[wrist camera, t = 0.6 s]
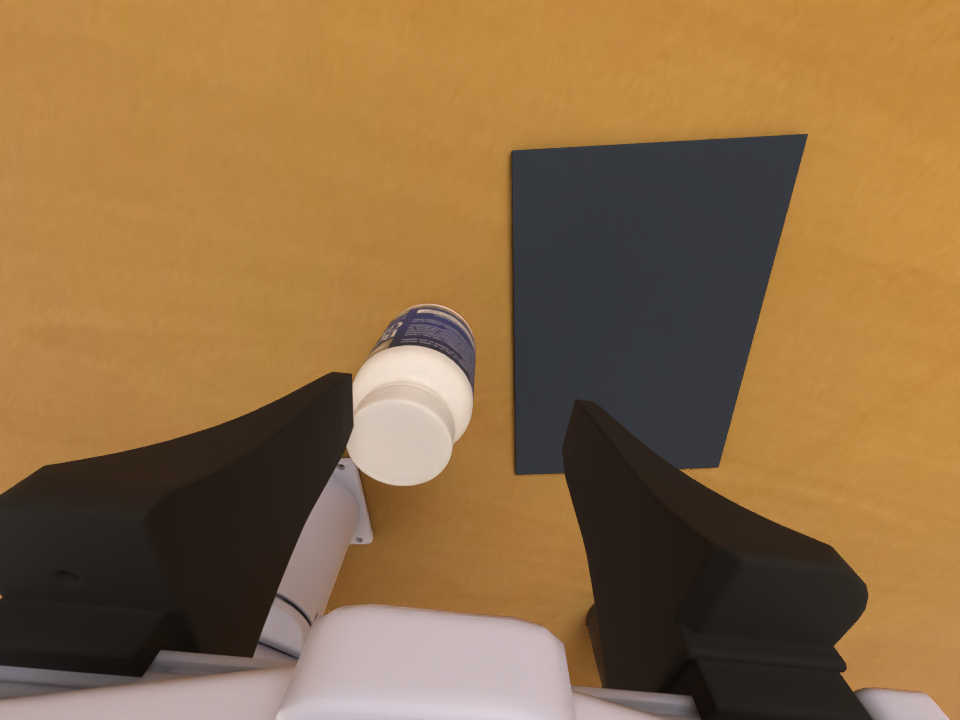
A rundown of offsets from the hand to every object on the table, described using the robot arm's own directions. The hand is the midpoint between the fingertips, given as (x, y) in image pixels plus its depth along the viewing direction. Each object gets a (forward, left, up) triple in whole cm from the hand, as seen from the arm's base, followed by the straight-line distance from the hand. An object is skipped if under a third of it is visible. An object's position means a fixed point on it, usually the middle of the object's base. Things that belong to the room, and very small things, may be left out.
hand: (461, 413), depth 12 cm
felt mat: (+9, -2, -11) cm, 14 cm away
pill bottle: (-3, -2, -11) cm, 11 cm away
